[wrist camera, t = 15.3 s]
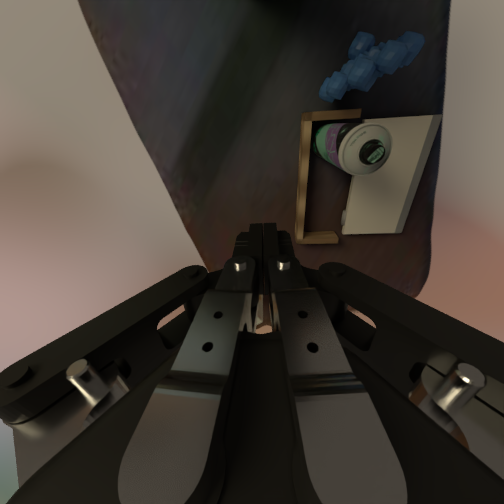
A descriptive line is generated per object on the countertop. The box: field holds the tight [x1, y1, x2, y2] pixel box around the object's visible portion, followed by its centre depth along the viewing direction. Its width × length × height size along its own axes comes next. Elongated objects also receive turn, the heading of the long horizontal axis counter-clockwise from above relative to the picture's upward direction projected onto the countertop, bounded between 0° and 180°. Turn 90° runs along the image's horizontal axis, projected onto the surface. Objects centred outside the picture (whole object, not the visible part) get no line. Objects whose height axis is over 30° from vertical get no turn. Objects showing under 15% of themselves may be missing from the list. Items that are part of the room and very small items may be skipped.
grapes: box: [319, 31, 425, 103], centre depth 28 cm, size 12×7×12 cm, turn 115°
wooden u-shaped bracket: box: [295, 109, 361, 244], centre depth 41 cm, size 24×9×4 cm, turn 3°
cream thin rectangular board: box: [341, 114, 443, 234], centre depth 40 cm, size 21×2×13 cm
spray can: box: [312, 123, 393, 176], centre depth 30 cm, size 6×6×20 cm
